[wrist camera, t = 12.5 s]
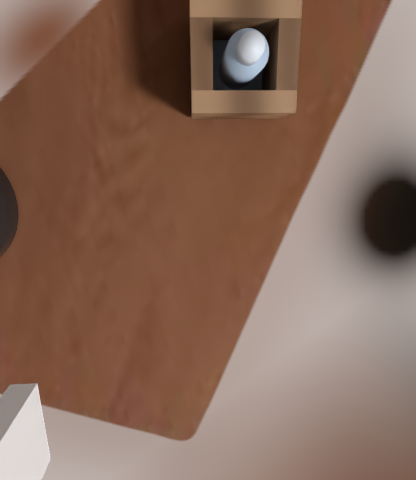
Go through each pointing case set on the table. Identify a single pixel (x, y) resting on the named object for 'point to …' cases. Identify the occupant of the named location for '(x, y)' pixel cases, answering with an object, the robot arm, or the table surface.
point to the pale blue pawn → (240, 61)
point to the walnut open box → (273, 74)
